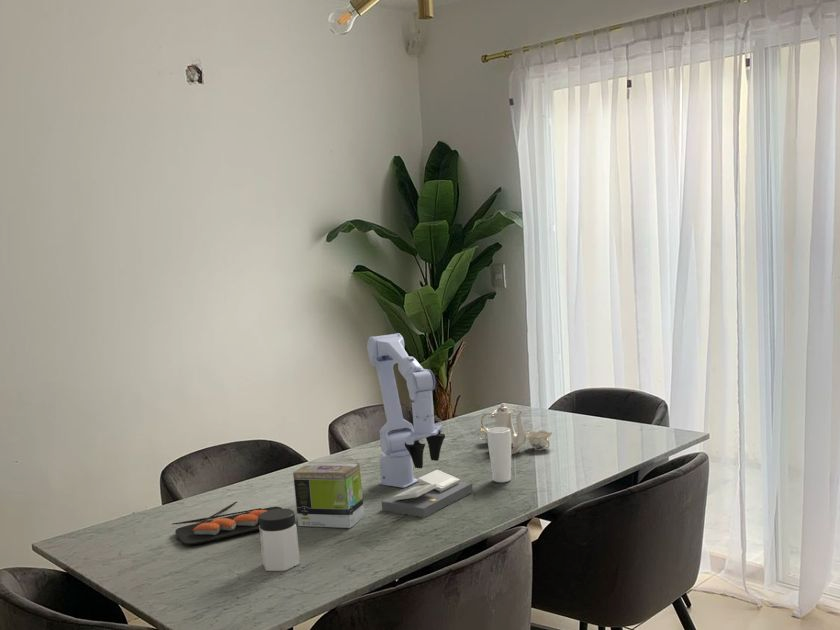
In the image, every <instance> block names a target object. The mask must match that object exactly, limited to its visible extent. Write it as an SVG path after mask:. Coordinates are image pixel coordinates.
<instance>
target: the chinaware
mask: <svg viewBox="0 0 840 630" xmlns="http://www.w3.org/2000/svg"><path fill="white" fill-rule="evenodd" d="M513 413H514V411H513V409H512V408H511V409H510V408H509V407H508V406H506V404H505V403H503V402H501V403H500V406H499V407H497V409H494V410H493V411H492V412H485V413H483V415H482V416H481V419H480V424H481V428H480V431H478V433H477V435H478V439H479V440H481V441H483V440H485V443H488V436H487V430H488V429H490V428H495V427H507V428H509V429H510V431H511V455H514V454H517V453H519V449H520V448H521V447H522V446H523V445H524V444H525V443H526V441H528V443H529V445H530V446H531V447H533V449H534V450H535V451H545V450H546V449H549V448H550V443H551V442H550V438H551V436H552V434H553V433H552V432H550V431H549V432H548V431H547V430H546V429H545V430H544V429H543V430H538V431H535V430H530V431H528V432H526V429H525V426H524V424H523V422H522V419H521V418H522V417H521V416H522V414H523V413H524V412H523V411H519V412H518V413H517V415H516V426H517V432H518V433H517V432H516V430H515V427H514V424H513ZM489 415H491V416H490V418H491V419H494V420H495V421H494V423H495V424H494V425H489V426H485V423H484V418H485V417H486V416H489ZM480 433H481V434H482V435H483V438H481V436H480Z"/></svg>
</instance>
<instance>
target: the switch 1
mask: <svg viewBox="0 0 840 630" xmlns="http://www.w3.org/2000/svg"><path fill="white" fill-rule="evenodd" d="M412 487H413V486H412ZM410 488H411V487H410ZM435 488H437V485H436V484H430V485H424V486H417V487H413V488H411V489H409V490H406V489H405V490H406V491H404V490H403V491H404V492H402V491H401V492H402V493H400V492H399V493H400V494H398V493H397V494H398V495H396V494H395V495H396V496H394V495H393V496H394V500H400V499H408V498H415V497H418V496H420V495H422V494H424V493H426V492H428V491H430V490H432V489H435Z"/></svg>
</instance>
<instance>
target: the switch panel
mask: <svg viewBox="0 0 840 630" xmlns="http://www.w3.org/2000/svg"><path fill="white" fill-rule="evenodd" d="M417 486H424V484H422V483H420V482H418V483H417V484H415V485H413V486H411V487H408V488H407V489H405V490H401V491H400V492H398V493H396V494H394V495H391V496H390V497H388V498H386V499H383V500H381V510H382V511H385V512H390V513H394V514H395V513H396V514H400V513H401V515H405V514H408V515H407V516H411V515H412V516H411V517H416V516H419V517H418V518H422V517H424V518H423V519H425V518H426V516H427V517H428V516H430V514H431V515H433V514H434V513H436V512H438V511H439V509H440V510H441V508H442V509H444V508H446V507H447V505H448V506H450V505H451V504H454V503H455V502H457V501H459V500H460V498H461V499H462V498H464V497H466V496H468V495H469V493H470V494H472V493H473V491H474V490H473V488H474V487H473V482H468V481H467V482H465V481H460V483H458V484H456V485H454V486H452V487H450V488H448V489H446V490H444V491H442V492H440V491H438V490H436V489H432V490H430V491H428V492H426V493H424V494H422V495H420V496H418V497H415V498H408V499H400V500H394V496H396V495H398V494H400V493H402V492H404V491H406V490H409V489H411V488H413V487H417ZM471 492H472V493H471ZM467 494H468V495H467ZM458 499H459V500H458ZM454 501H455V502H454ZM445 506H446V507H445ZM443 507H444V508H443ZM437 510H438V511H437ZM432 513H433V514H432Z"/></svg>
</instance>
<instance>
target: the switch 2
mask: <svg viewBox="0 0 840 630" xmlns="http://www.w3.org/2000/svg"><path fill="white" fill-rule="evenodd" d="M417 479H418V482H417V483H422V484H424V485H430V484H436V485H437V488H435V489H436V490H438V491H440V492H442V491H444V490H446V489H448V488H450V487H452V486H454V485H456V484H458V483H460V482H461V479H460V478H457V477H455V476H453V475H451V474H448V473H446V472H444V471H441V470H440V469H434V470H433V471H431V472H429V473H426V474H424V475H422V476H420V477H418V478H417Z"/></svg>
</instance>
